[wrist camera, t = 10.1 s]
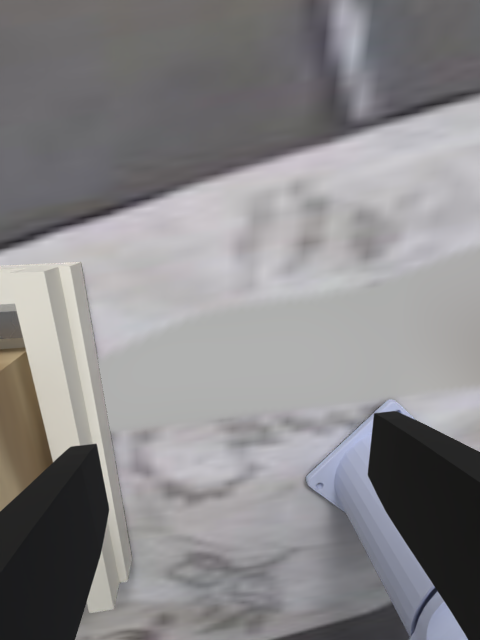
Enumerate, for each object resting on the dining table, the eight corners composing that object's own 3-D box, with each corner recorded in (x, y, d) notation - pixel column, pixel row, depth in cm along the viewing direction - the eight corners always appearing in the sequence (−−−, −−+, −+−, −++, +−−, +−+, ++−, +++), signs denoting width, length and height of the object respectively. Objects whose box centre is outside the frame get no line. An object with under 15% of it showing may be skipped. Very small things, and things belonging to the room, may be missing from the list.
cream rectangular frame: (132, 558, 22) (122, 607, 19) (-11, 579, 21) (-43, 634, 18) (80, 262, 16) (56, 270, 14) (-120, 271, 15) (-191, 282, 13)
